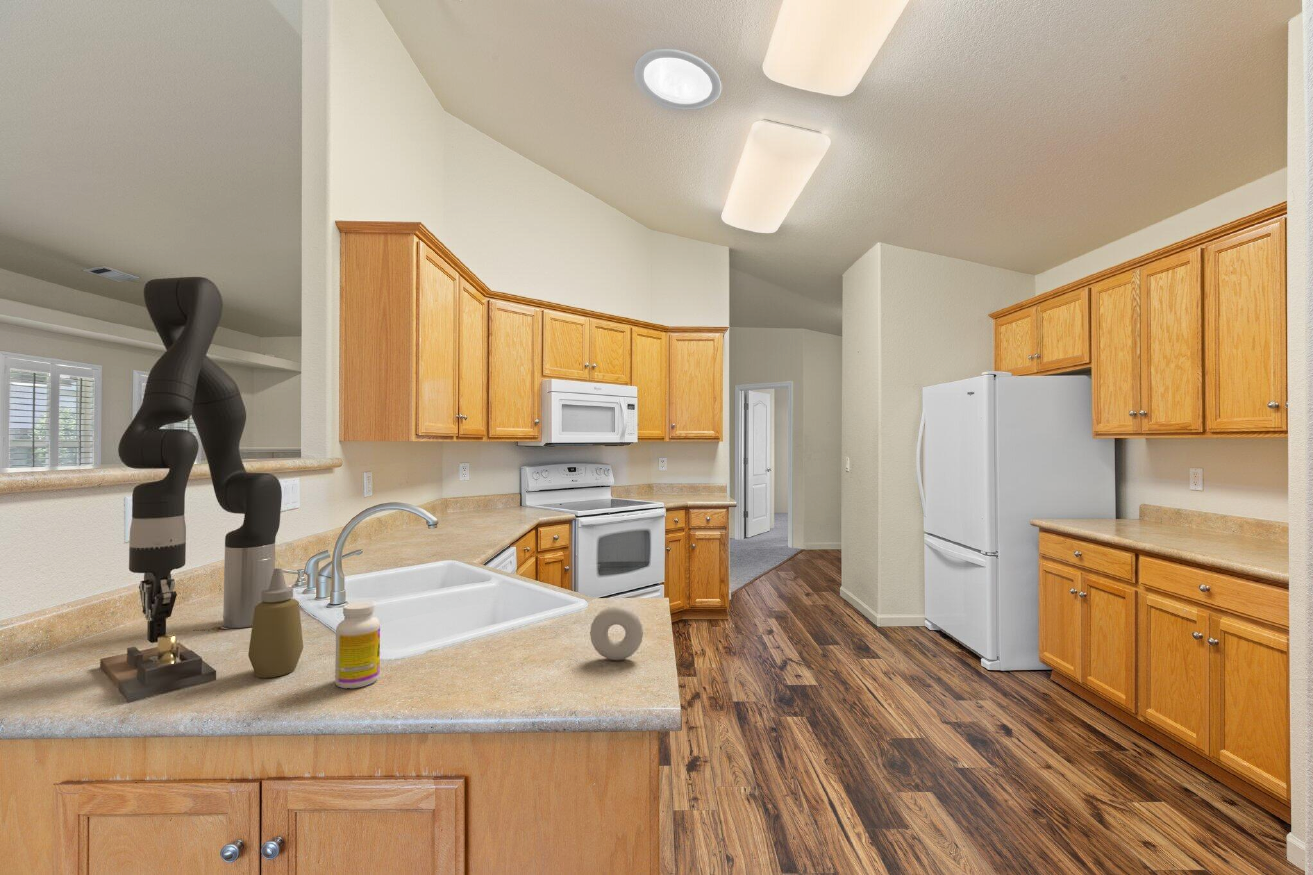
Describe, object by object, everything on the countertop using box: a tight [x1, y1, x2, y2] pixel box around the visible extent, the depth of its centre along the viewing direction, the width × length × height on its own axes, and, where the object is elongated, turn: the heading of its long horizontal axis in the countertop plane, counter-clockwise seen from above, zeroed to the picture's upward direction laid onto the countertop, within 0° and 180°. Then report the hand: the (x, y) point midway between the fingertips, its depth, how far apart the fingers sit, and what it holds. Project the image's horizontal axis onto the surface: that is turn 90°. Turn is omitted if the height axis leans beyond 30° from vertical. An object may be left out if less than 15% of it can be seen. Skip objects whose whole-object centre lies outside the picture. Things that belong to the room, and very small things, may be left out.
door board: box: [99, 642, 217, 703], centre depth 99 cm, size 11×22×4 cm, turn 52°
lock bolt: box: [149, 633, 181, 667], centre depth 95 cm, size 3×8×6 cm, turn 52°
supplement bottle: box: [334, 601, 381, 689], centre depth 97 cm, size 7×7×13 cm
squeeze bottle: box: [247, 567, 304, 679], centre depth 100 cm, size 8×8×18 cm
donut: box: [589, 605, 644, 661], centre depth 108 cm, size 10×4×10 cm, turn 90°
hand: (156, 640), depth 101 cm, fingers closed
